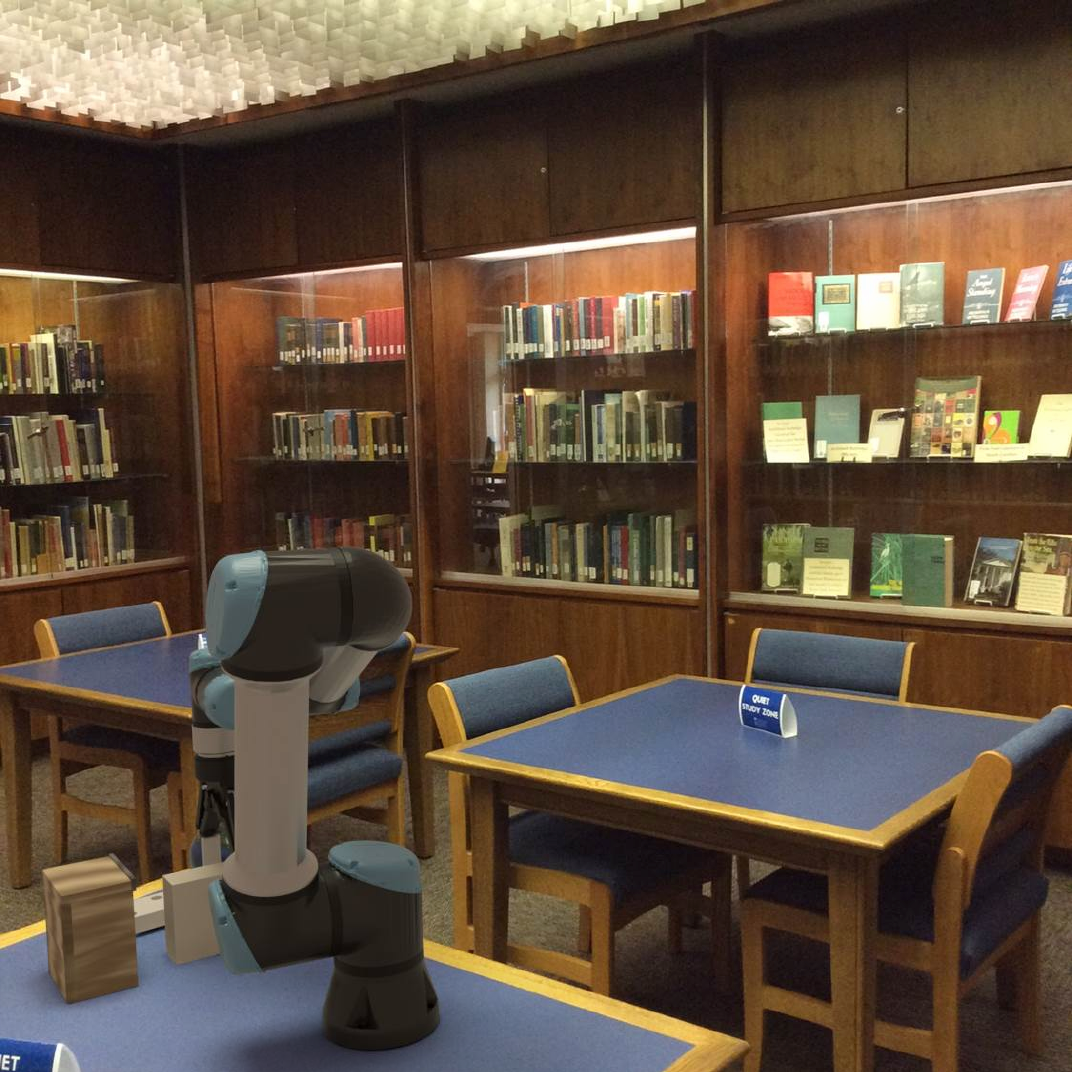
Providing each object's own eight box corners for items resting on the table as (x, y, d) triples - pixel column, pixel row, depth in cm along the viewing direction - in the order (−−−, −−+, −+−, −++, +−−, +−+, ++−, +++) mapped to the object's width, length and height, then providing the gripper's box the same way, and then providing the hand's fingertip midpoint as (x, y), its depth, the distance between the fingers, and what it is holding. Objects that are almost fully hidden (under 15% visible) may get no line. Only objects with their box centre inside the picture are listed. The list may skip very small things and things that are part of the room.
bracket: (105, 948, 187) (102, 900, 186) (87, 935, 192) (84, 887, 192) (186, 924, 195) (183, 878, 195) (167, 912, 201) (164, 866, 200)
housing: (142, 985, 174) (135, 878, 172) (68, 1004, 168) (61, 894, 167) (118, 954, 184) (112, 853, 183) (48, 971, 179) (41, 867, 177)
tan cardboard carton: (242, 948, 185) (239, 870, 184) (176, 965, 180) (172, 885, 179) (231, 936, 190) (227, 860, 188) (166, 953, 184) (161, 875, 183)
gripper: (274, 763, 176) (281, 908, 177) (217, 733, 197) (224, 863, 198) (222, 772, 172) (230, 921, 173) (170, 740, 193) (177, 873, 194)
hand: (227, 890), depth 186 cm, fingers open, 13 cm apart
